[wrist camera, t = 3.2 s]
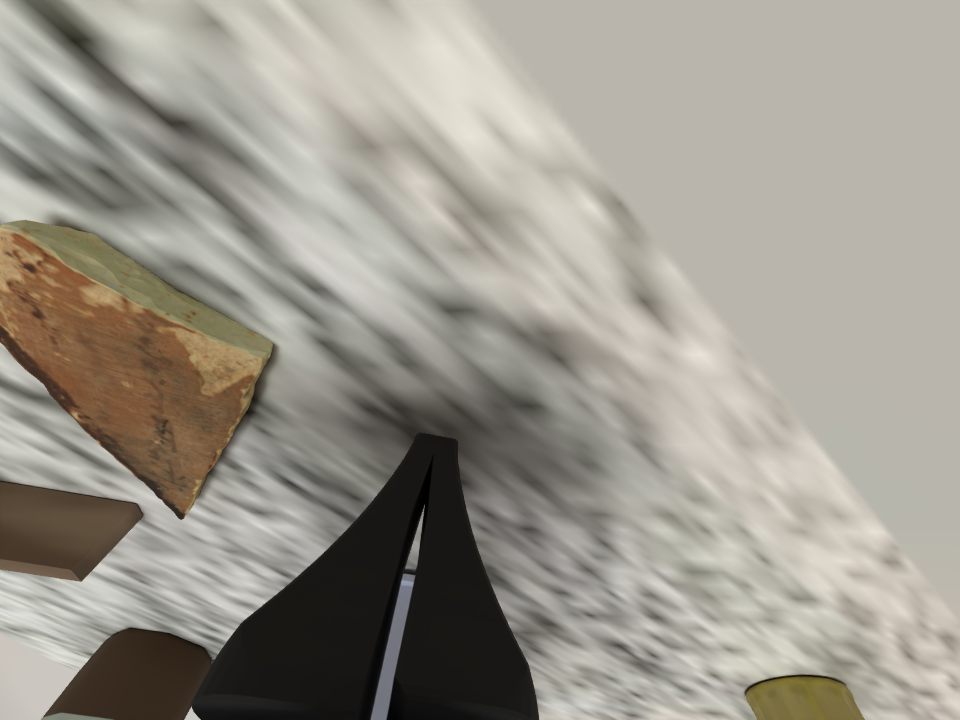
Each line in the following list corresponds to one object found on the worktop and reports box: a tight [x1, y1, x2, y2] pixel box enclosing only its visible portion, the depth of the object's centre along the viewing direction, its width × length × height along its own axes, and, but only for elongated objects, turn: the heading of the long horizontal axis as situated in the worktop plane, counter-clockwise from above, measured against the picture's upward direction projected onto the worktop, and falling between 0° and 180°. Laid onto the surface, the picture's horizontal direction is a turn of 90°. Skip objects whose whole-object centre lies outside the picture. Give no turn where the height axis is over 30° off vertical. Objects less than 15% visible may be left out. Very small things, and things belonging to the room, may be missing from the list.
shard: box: [0, 220, 273, 520], centre depth 12 cm, size 11×8×2 cm
